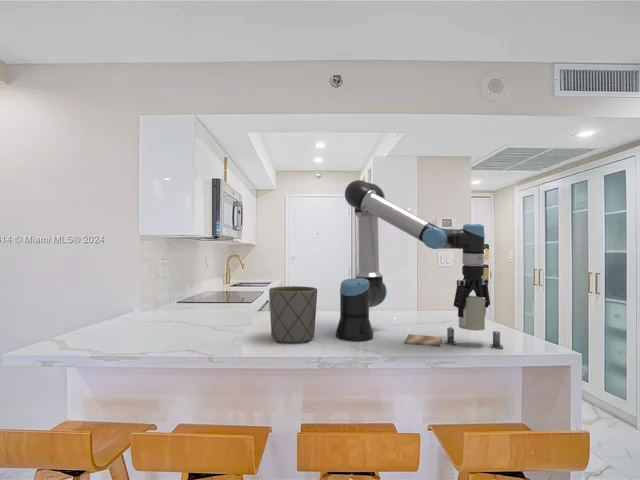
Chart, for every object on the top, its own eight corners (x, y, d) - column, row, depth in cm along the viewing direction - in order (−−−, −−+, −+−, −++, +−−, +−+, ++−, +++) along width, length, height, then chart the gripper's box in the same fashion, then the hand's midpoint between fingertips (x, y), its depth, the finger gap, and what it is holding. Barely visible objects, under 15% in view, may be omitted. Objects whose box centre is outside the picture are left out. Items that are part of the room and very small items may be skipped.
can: (475, 331, 139) (475, 298, 139) (453, 326, 147) (454, 294, 147) (490, 328, 144) (490, 296, 144) (468, 324, 152) (469, 293, 152)
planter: (318, 344, 145) (318, 291, 145) (267, 345, 143) (267, 291, 144) (315, 333, 164) (315, 286, 164) (270, 333, 162) (270, 286, 163)
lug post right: (491, 349, 140) (491, 333, 140) (490, 345, 145) (490, 330, 145) (503, 350, 138) (503, 334, 139) (501, 346, 143) (501, 331, 143)
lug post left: (444, 344, 146) (444, 329, 146) (445, 341, 151) (445, 326, 151) (456, 345, 145) (456, 330, 145) (456, 341, 150) (456, 327, 150)
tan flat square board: (404, 343, 147) (404, 341, 147) (408, 336, 159) (408, 334, 159) (440, 346, 143) (440, 344, 143) (441, 338, 155) (441, 336, 155)
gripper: (458, 265, 137) (457, 329, 137) (501, 265, 147) (500, 325, 146) (443, 264, 144) (442, 325, 144) (485, 264, 153) (484, 321, 153)
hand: (471, 325), depth 145 cm, fingers closed on can, 9 cm apart
